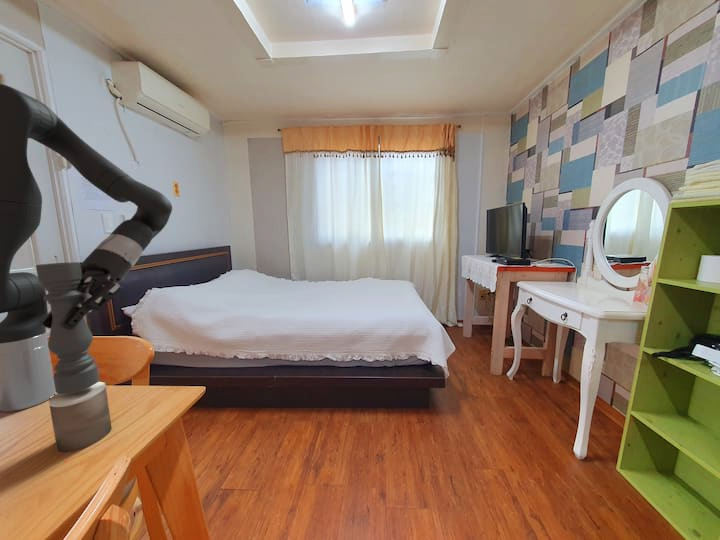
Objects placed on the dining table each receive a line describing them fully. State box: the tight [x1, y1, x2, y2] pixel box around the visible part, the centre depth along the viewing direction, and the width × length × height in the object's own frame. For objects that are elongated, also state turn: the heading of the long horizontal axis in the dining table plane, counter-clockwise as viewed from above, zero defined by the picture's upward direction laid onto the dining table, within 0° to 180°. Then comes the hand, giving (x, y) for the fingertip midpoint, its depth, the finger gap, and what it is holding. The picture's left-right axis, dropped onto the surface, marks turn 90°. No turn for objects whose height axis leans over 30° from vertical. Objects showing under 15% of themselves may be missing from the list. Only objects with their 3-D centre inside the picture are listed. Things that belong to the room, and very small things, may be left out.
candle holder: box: [35, 261, 100, 394], centre depth 53 cm, size 6×6×25 cm
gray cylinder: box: [48, 381, 112, 453], centre depth 56 cm, size 8×8×10 cm
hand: (56, 326), depth 51 cm, fingers closed on candle holder, 4 cm apart
